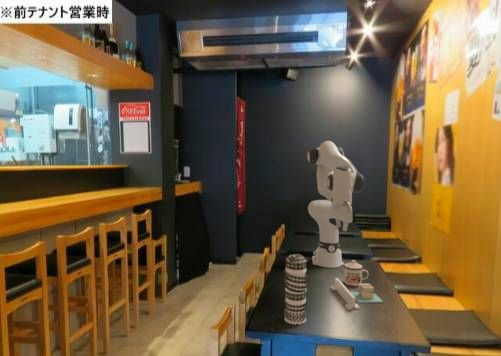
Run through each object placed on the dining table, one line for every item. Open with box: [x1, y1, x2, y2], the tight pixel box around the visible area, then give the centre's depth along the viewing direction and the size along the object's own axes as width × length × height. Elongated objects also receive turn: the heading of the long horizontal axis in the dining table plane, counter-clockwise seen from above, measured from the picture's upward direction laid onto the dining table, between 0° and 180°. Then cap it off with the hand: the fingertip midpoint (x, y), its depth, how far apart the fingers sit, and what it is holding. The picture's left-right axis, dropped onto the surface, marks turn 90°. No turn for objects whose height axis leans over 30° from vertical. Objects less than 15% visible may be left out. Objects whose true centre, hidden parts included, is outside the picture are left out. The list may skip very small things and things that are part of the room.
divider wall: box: [330, 277, 361, 311], centre depth 151 cm, size 24×5×5 cm, turn 3°
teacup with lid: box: [343, 259, 370, 287], centre depth 170 cm, size 12×9×12 cm
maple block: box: [358, 283, 375, 299], centre depth 152 cm, size 5×5×5 cm
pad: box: [350, 291, 384, 304], centre depth 152 cm, size 11×11×1 cm
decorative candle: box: [283, 253, 309, 325], centre depth 130 cm, size 9×9×25 cm
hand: (341, 228), depth 162 cm, fingers open, 8 cm apart
